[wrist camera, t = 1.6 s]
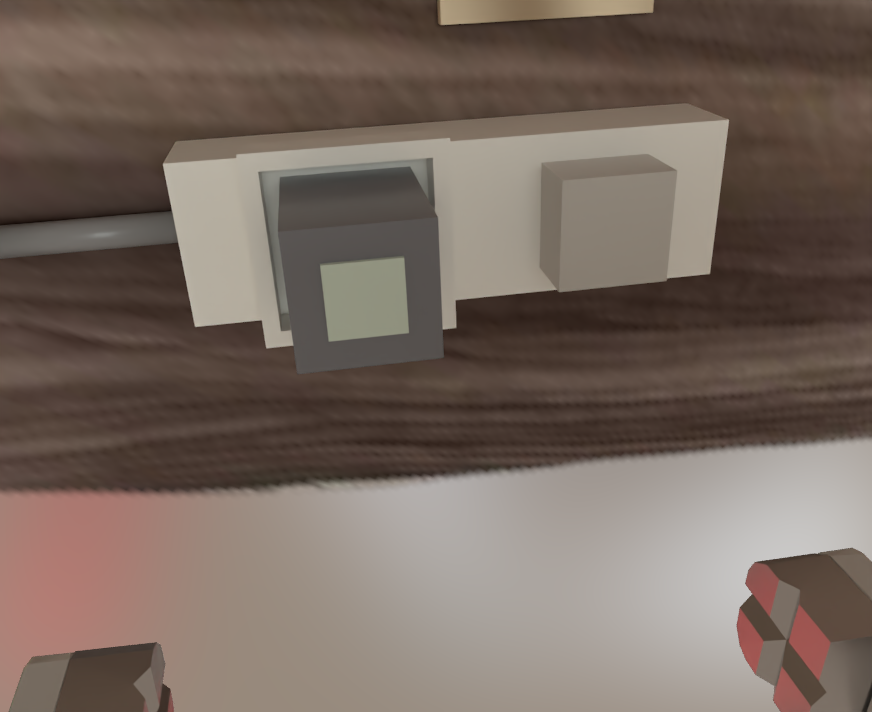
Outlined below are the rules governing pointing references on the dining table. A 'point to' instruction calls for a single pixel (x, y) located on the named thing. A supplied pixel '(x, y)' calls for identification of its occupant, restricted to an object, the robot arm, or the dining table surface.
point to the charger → (360, 269)
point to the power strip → (440, 205)
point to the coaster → (533, 9)
